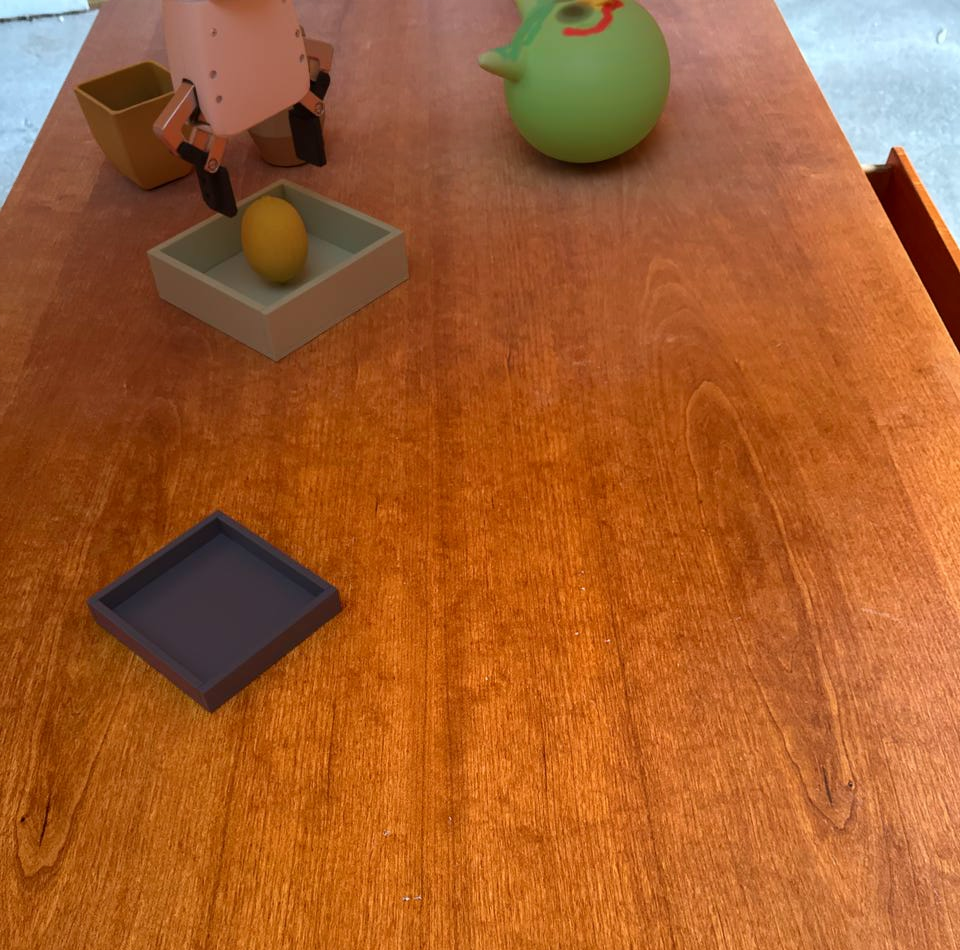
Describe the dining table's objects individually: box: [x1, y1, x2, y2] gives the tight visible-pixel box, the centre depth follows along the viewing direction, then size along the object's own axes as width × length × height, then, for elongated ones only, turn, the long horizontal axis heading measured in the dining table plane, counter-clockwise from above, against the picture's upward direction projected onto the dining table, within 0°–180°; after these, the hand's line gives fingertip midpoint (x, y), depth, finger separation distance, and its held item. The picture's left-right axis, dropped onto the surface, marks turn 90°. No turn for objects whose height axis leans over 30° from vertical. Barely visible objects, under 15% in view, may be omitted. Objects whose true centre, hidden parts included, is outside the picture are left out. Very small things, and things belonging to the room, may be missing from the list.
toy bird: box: [477, 0, 671, 164], centre depth 112 cm, size 18×17×15 cm
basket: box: [146, 177, 410, 363], centre depth 102 cm, size 16×16×4 cm
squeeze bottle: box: [246, 23, 326, 167], centre depth 113 cm, size 8×8×18 cm
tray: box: [85, 508, 343, 714], centre depth 77 cm, size 12×11×2 cm
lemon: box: [241, 195, 308, 284], centre depth 100 cm, size 6×6×8 cm
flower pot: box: [71, 58, 194, 191], centre depth 115 cm, size 9×9×9 cm
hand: (268, 186), depth 97 cm, fingers open, 9 cm apart
